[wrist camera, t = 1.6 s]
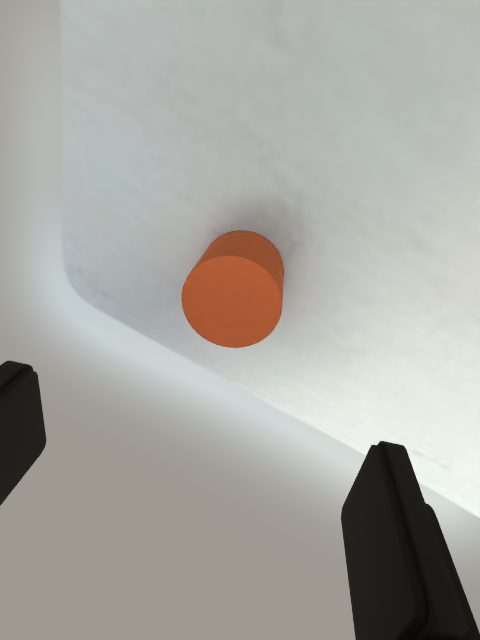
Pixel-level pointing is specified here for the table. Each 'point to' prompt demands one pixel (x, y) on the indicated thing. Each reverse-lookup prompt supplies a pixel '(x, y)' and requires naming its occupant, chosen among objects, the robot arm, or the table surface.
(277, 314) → the orange cylinder
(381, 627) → the robot arm
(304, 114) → the table surface
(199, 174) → the table surface
